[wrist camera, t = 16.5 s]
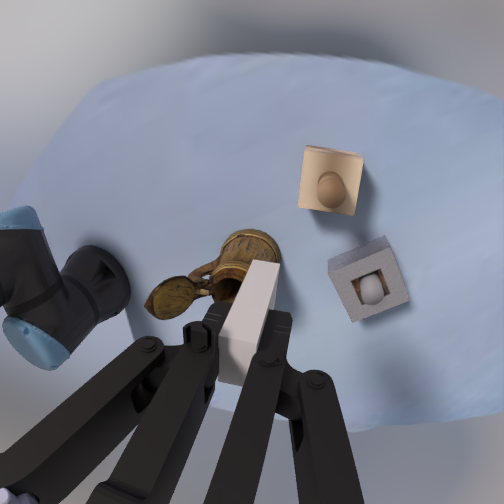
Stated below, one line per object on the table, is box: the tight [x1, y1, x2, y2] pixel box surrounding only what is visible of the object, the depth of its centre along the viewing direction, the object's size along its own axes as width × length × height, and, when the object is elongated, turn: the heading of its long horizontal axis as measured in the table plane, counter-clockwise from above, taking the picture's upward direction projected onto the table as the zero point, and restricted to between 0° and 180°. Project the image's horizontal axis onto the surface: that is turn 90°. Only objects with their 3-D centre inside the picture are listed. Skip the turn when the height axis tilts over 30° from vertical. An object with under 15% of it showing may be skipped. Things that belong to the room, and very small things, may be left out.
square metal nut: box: [328, 235, 410, 323], centre depth 43 cm, size 9×9×4 cm
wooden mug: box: [144, 229, 281, 320], centre depth 42 cm, size 9×14×18 cm, turn 81°
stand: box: [298, 145, 364, 216], centre depth 37 cm, size 7×7×11 cm
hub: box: [355, 269, 385, 305], centre depth 43 cm, size 7×7×8 cm
